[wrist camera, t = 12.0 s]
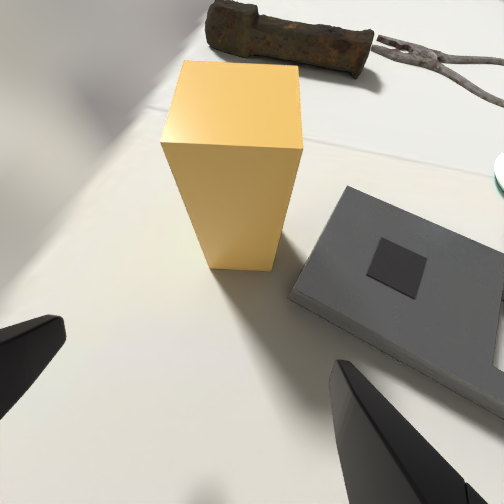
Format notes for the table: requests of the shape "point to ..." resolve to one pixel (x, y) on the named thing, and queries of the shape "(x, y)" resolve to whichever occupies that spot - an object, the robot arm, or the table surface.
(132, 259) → the table surface
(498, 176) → the can
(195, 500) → the table surface
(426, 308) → the charcoal peg board
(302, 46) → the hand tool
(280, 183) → the amber peg
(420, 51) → the pliers
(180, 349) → the table surface
